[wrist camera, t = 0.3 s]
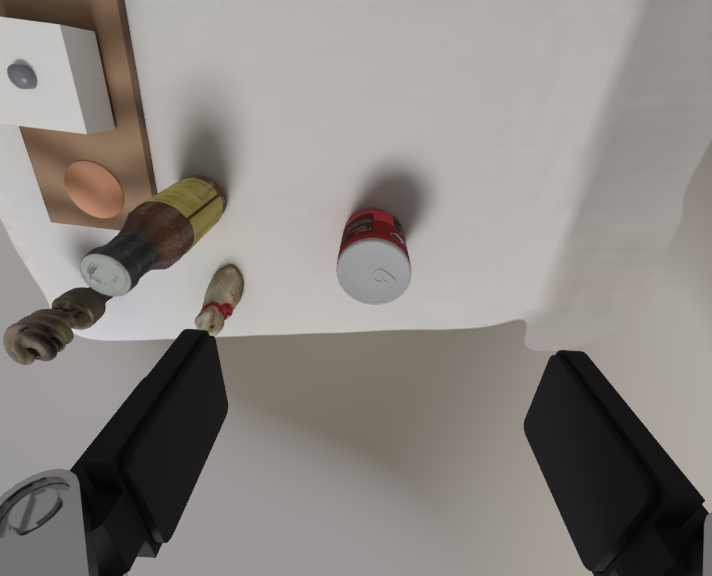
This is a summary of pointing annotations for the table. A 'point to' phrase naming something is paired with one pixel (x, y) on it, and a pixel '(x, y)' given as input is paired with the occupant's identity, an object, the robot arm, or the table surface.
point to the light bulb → (53, 325)
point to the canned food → (373, 258)
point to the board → (97, 150)
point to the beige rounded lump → (220, 300)
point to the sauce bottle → (154, 235)
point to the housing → (52, 78)
